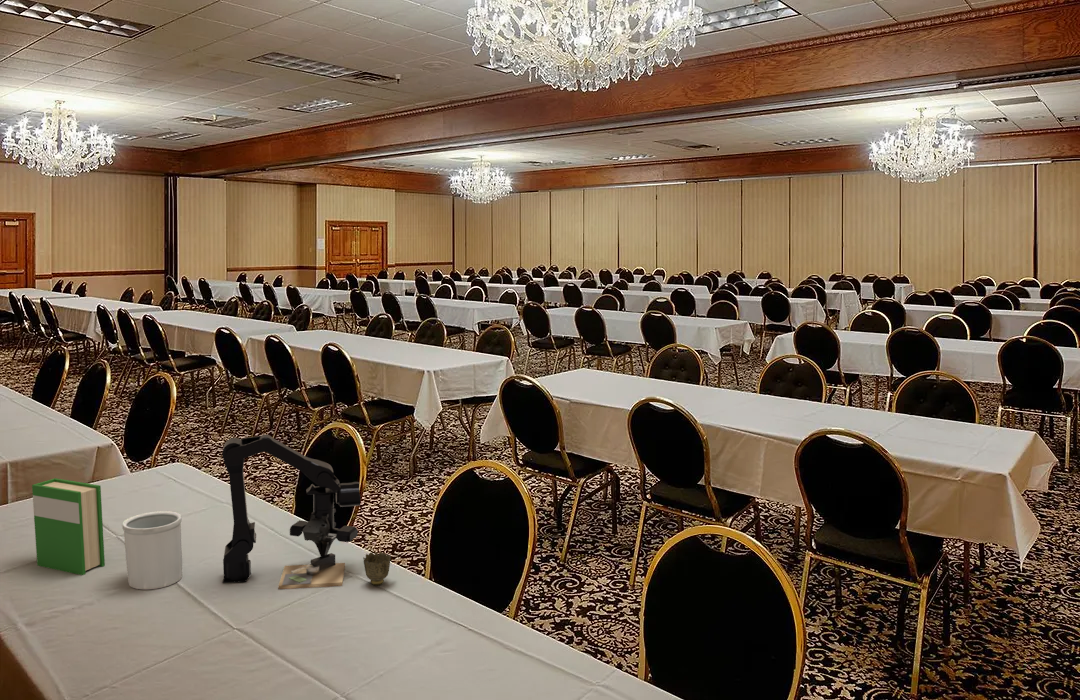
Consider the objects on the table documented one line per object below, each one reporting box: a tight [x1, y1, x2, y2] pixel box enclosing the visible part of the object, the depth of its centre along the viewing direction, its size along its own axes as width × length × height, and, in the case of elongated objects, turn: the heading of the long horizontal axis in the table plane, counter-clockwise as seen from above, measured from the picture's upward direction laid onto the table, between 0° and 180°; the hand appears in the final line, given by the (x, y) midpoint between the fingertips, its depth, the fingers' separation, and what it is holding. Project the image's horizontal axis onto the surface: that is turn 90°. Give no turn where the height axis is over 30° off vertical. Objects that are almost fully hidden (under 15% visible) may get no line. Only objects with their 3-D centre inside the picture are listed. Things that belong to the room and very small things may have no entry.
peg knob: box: [291, 552, 336, 575], centre depth 234 cm, size 14×4×3 cm, turn 139°
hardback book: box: [31, 477, 106, 576], centre depth 238 cm, size 18×7×24 cm, turn 70°
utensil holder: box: [121, 510, 183, 590], centre depth 229 cm, size 15×15×18 cm
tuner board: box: [277, 562, 346, 590], centre depth 234 cm, size 17×14×1 cm
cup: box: [362, 551, 392, 587], centre depth 230 cm, size 8×7×8 cm
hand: (323, 559), depth 239 cm, fingers closed
